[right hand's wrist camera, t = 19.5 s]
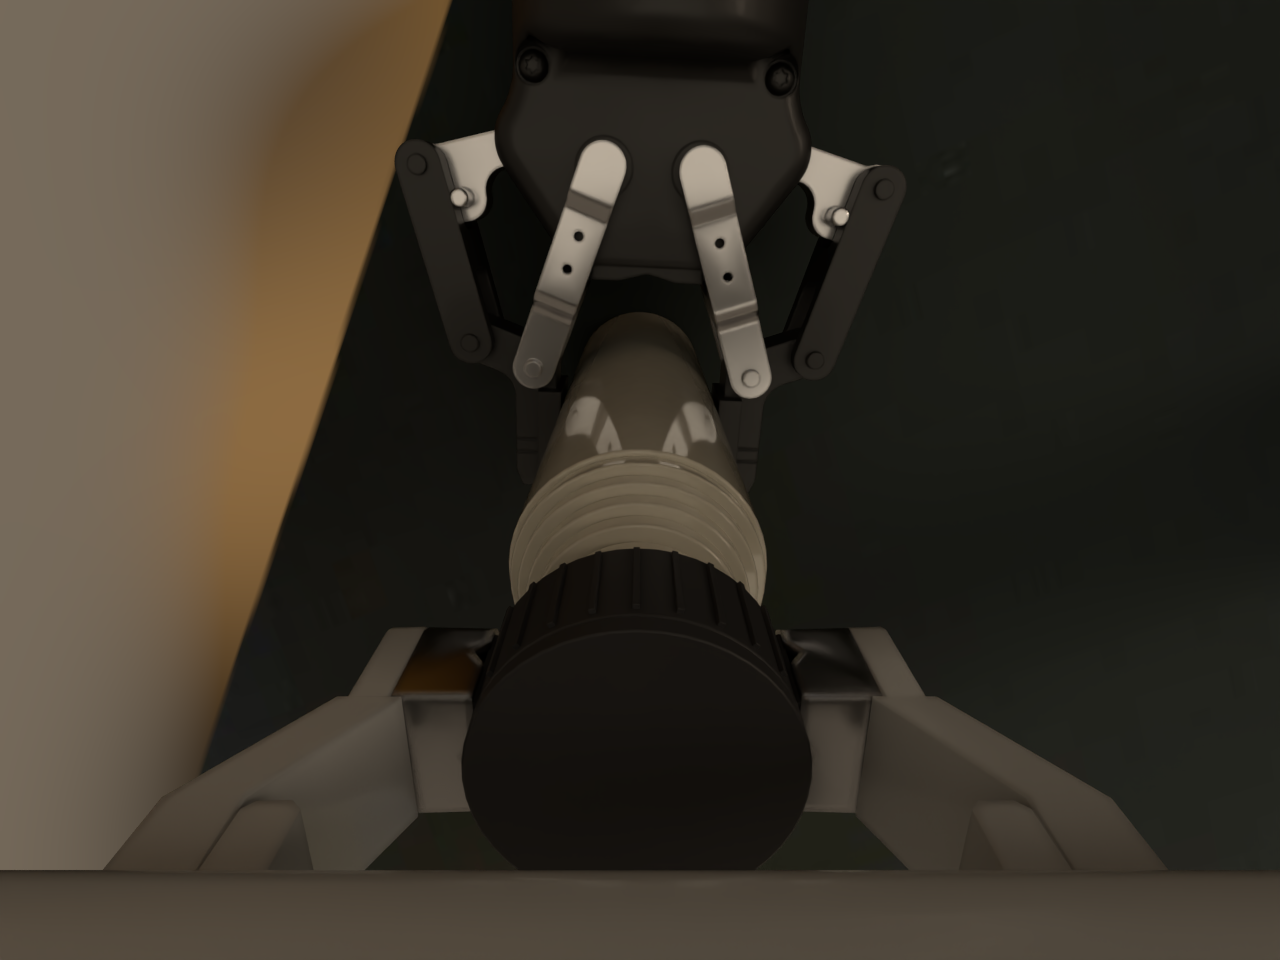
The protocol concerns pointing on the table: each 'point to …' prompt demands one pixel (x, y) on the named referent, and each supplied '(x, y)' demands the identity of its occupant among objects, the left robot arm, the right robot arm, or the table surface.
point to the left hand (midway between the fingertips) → (635, 496)
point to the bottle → (638, 464)
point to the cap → (636, 722)
